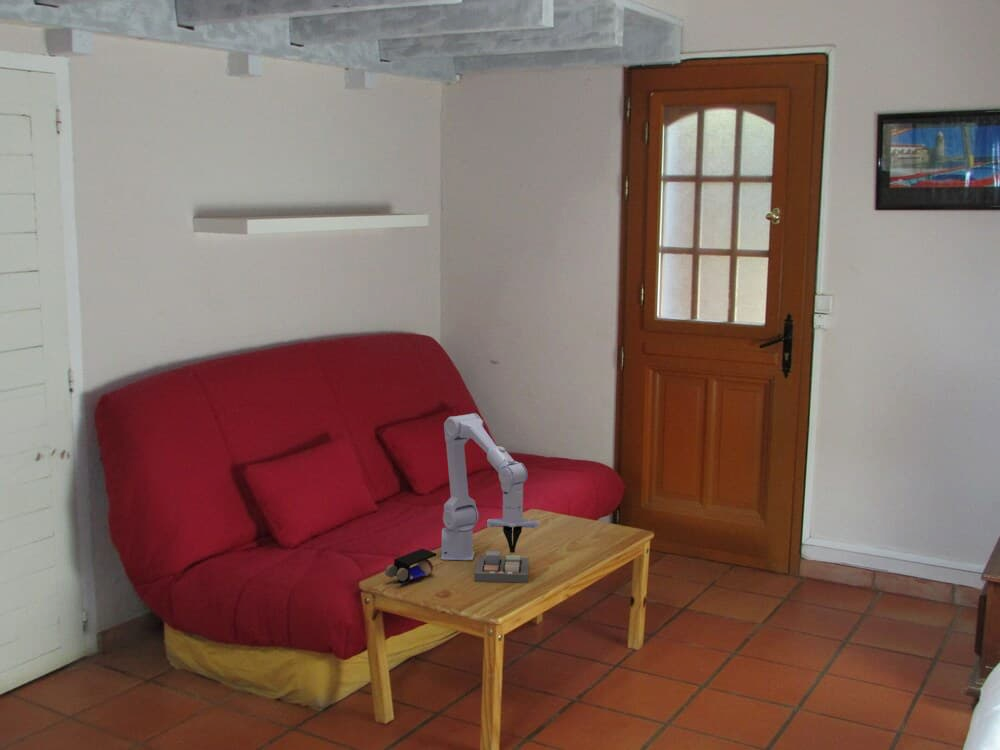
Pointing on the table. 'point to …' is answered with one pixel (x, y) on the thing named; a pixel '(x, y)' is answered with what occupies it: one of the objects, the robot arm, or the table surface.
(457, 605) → the table surface
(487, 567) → the key terracotta
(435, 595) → the table surface
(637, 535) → the table surface
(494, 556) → the key slate
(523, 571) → the keypad bezel
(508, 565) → the key cream
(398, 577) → the black toy vehicle
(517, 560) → the key sage
